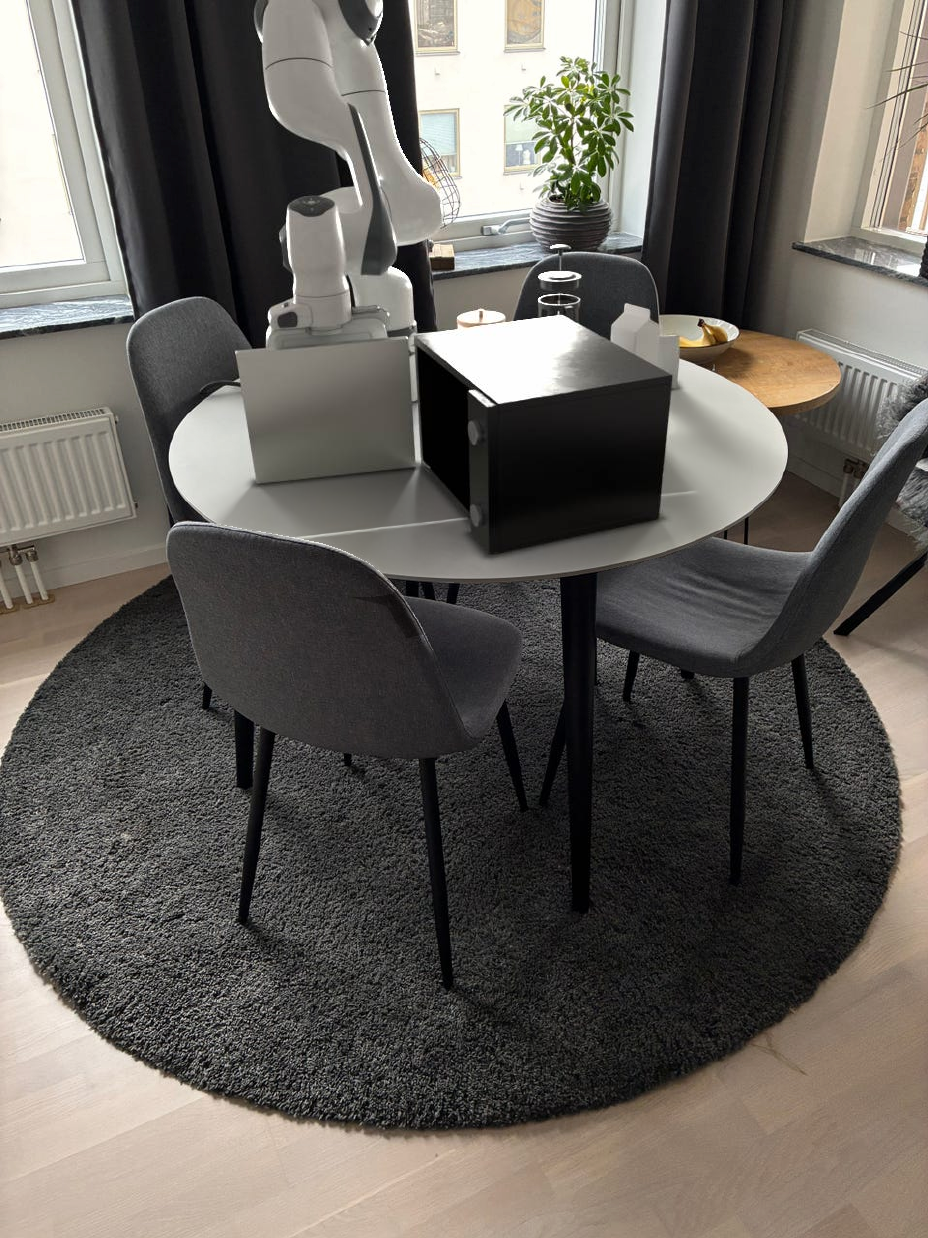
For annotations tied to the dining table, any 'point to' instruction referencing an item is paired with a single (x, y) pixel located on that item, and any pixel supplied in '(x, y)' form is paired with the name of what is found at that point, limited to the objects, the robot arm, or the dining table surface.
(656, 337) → the milk
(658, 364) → the white small box
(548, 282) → the french press
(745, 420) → the dining table surface
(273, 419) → the microwave door
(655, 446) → the microwave
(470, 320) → the trinket box
